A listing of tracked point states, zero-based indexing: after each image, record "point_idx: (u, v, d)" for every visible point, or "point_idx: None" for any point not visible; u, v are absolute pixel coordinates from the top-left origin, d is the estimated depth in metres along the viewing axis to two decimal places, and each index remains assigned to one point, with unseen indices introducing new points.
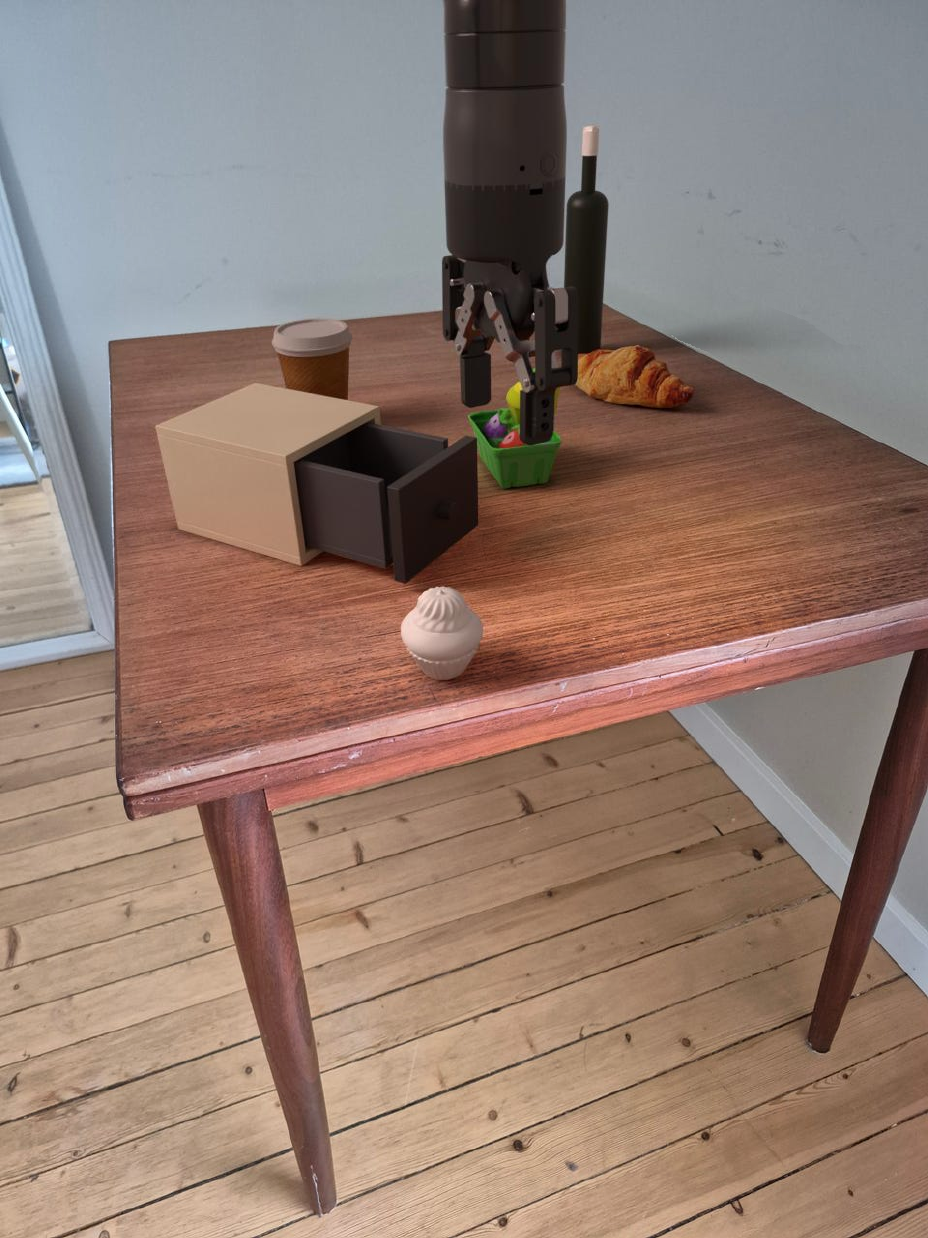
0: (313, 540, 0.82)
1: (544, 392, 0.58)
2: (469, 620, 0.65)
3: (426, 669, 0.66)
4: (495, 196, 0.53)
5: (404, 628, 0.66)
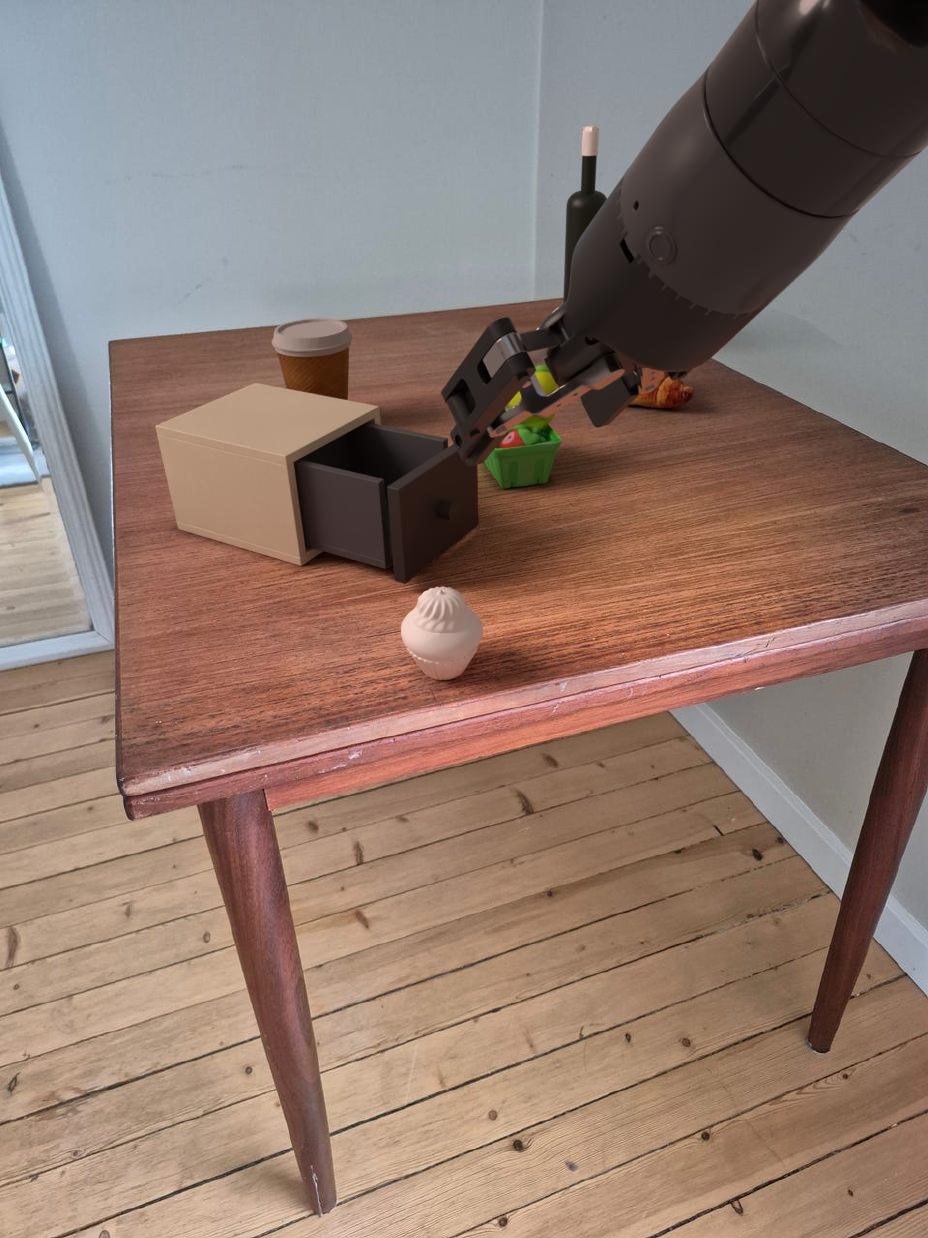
0: (313, 540, 0.82)
1: None
2: (469, 620, 0.65)
3: (426, 669, 0.66)
4: (612, 199, 0.34)
5: (404, 628, 0.66)
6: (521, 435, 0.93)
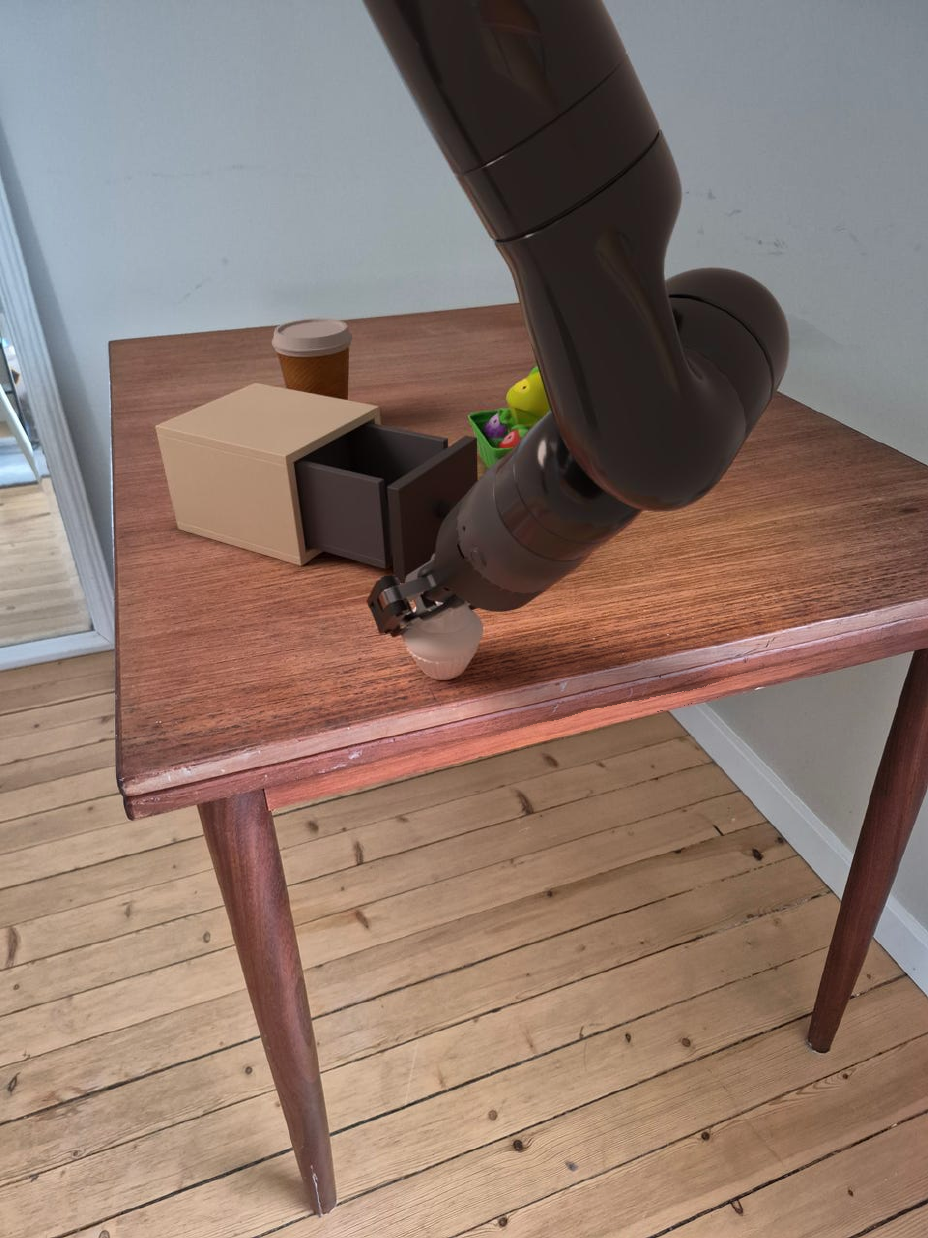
0: (313, 540, 0.82)
1: None
2: (469, 620, 0.65)
3: (426, 669, 0.66)
4: (456, 512, 0.52)
5: None
6: (521, 435, 0.93)
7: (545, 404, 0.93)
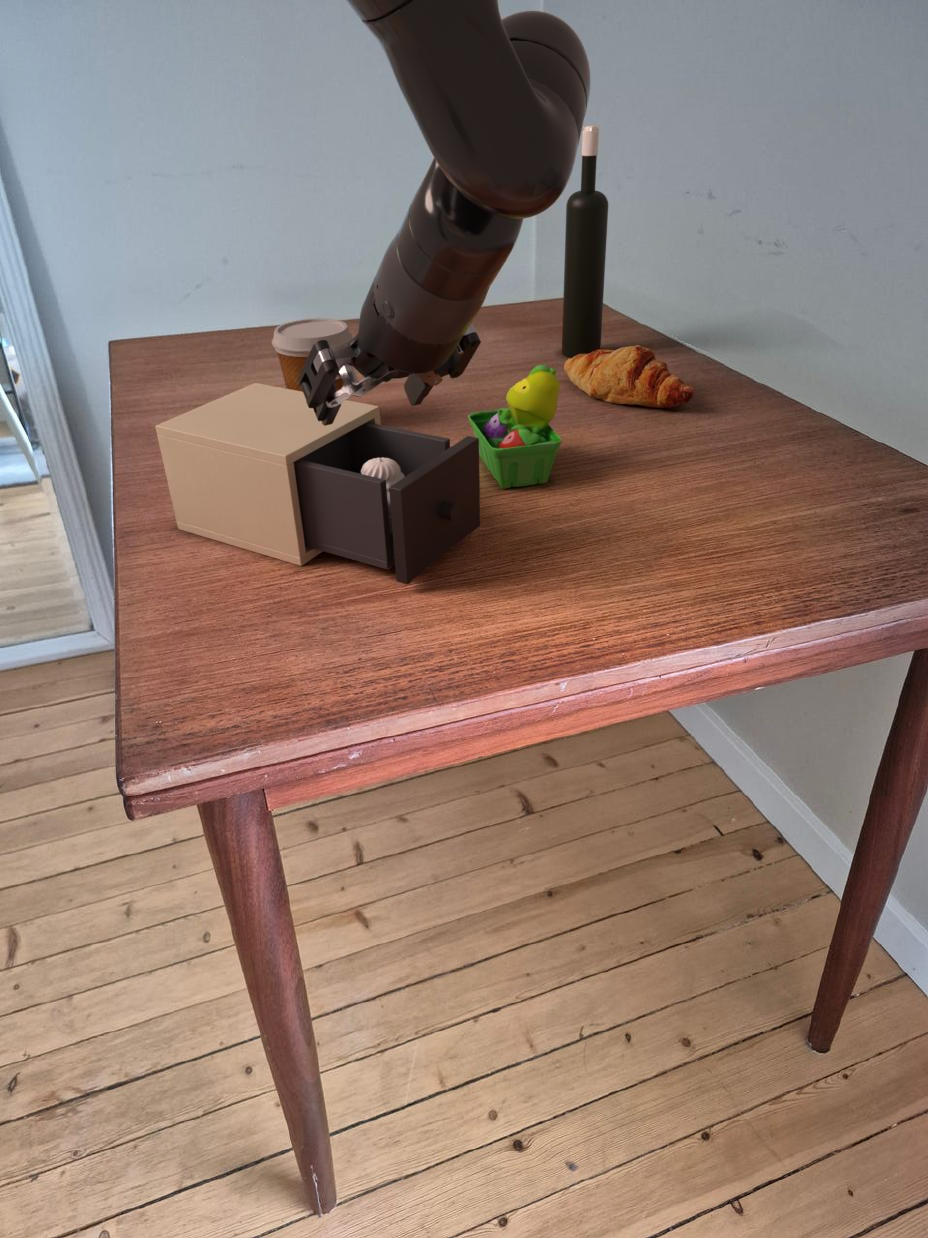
0: (315, 540, 0.82)
1: None
2: None
3: None
4: (373, 280, 0.64)
5: None
6: (521, 435, 0.93)
7: (545, 404, 0.93)
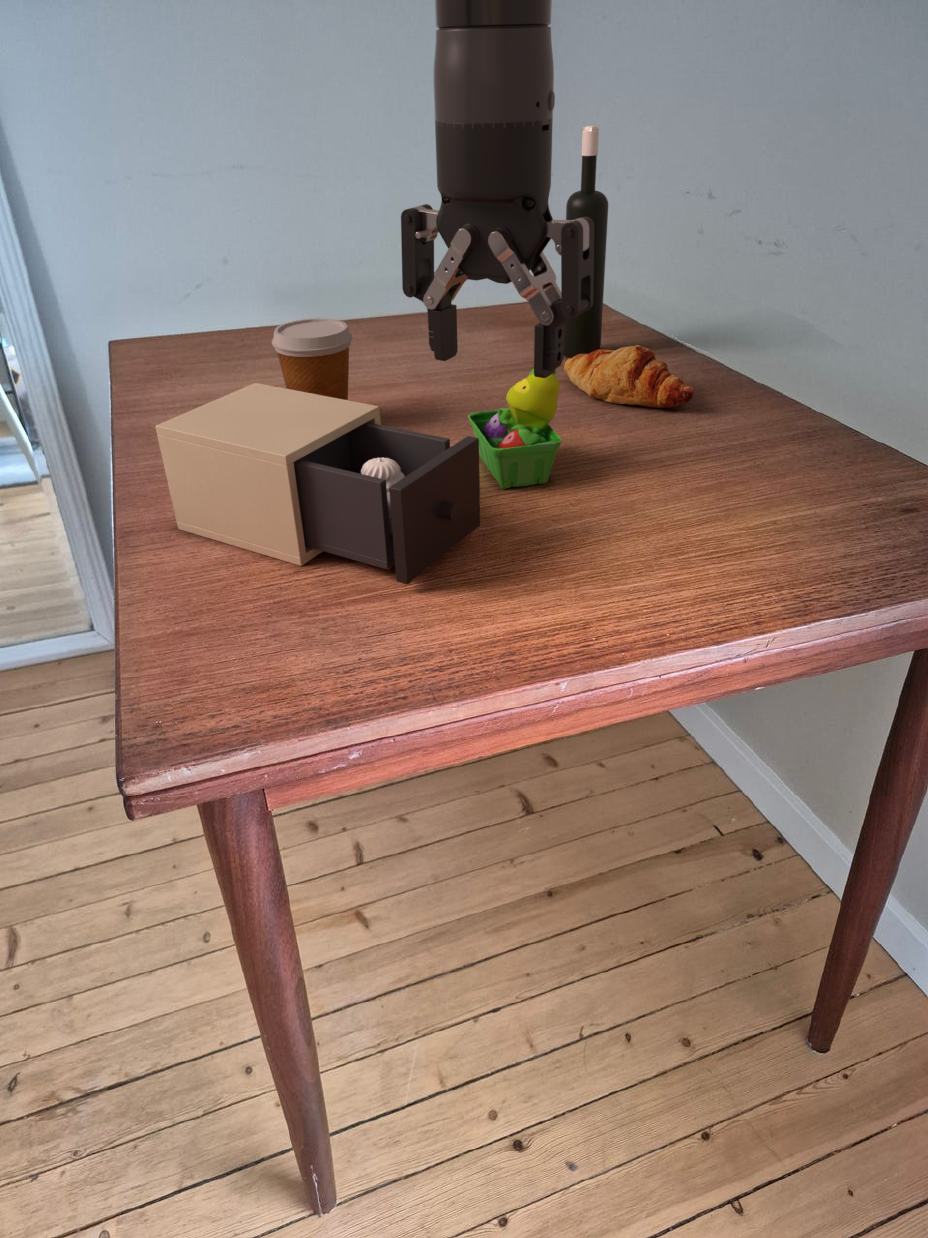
0: (315, 540, 0.82)
1: (560, 322, 0.61)
2: None
3: None
4: (516, 133, 0.55)
5: None
6: (521, 435, 0.93)
7: (545, 404, 0.93)
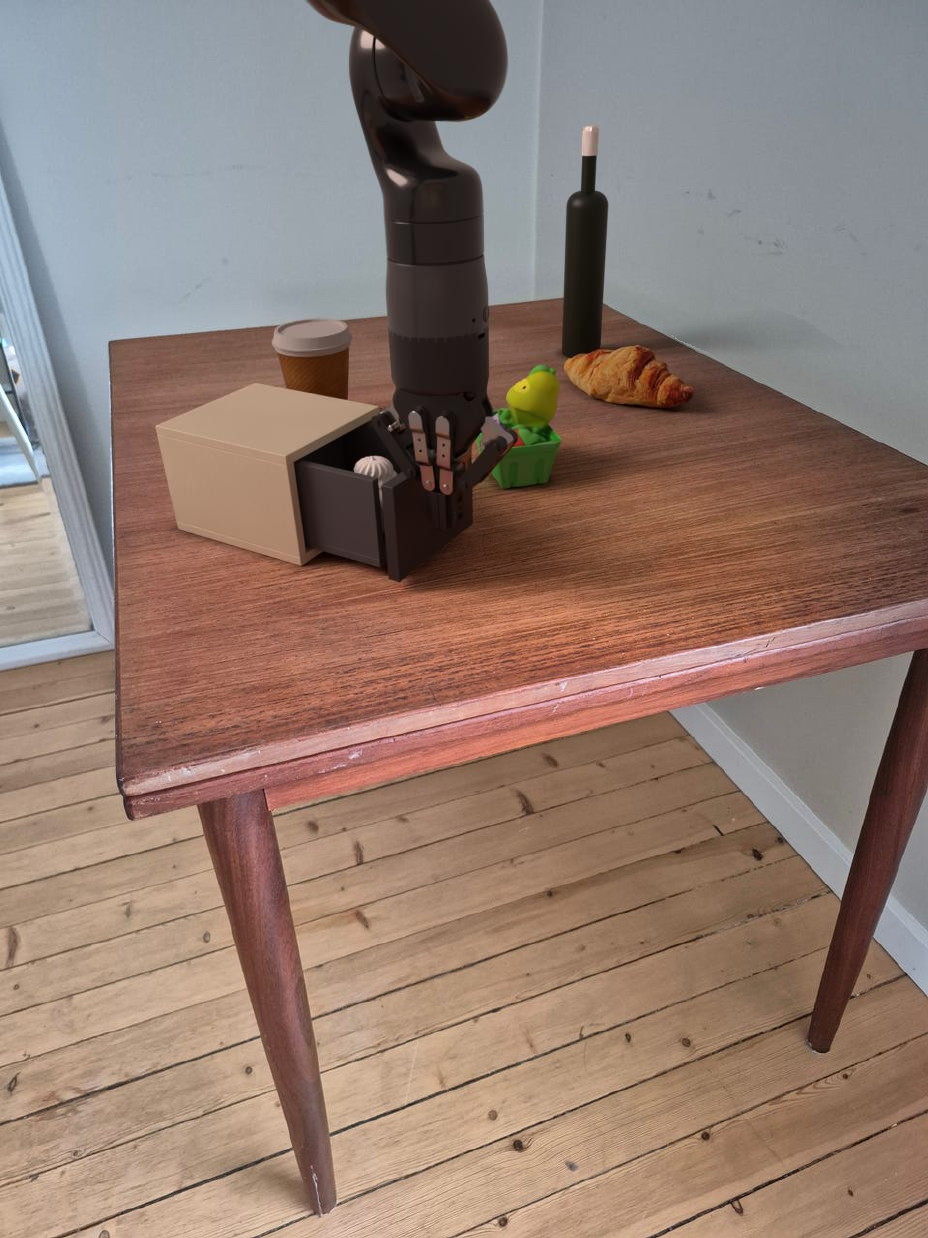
0: (308, 539, 0.82)
1: (459, 491, 0.73)
2: None
3: None
4: (455, 344, 0.64)
5: None
6: (521, 435, 0.93)
7: (545, 404, 0.93)
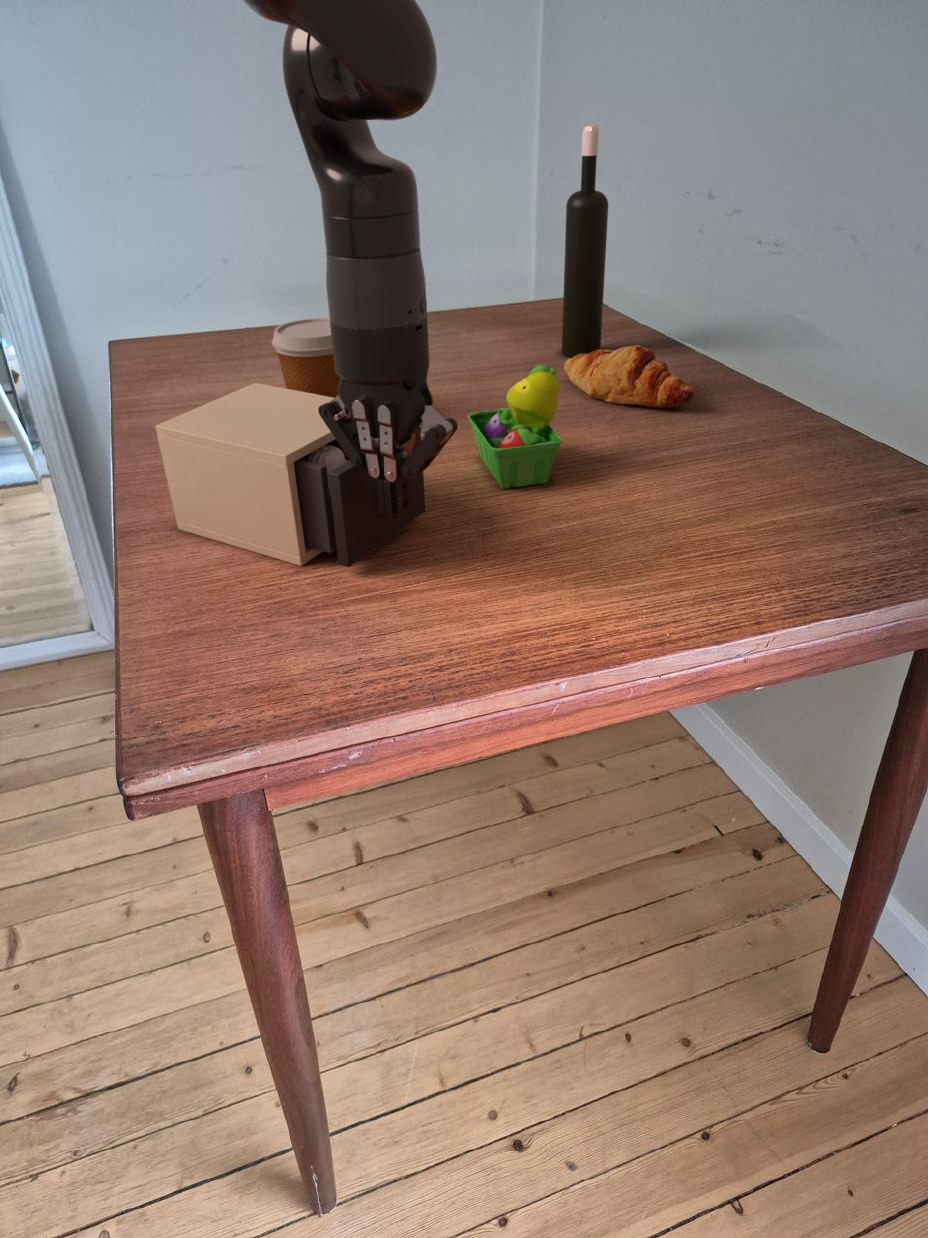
0: None
1: (404, 478, 0.76)
2: None
3: None
4: (392, 335, 0.67)
5: None
6: (521, 435, 0.93)
7: (545, 404, 0.93)
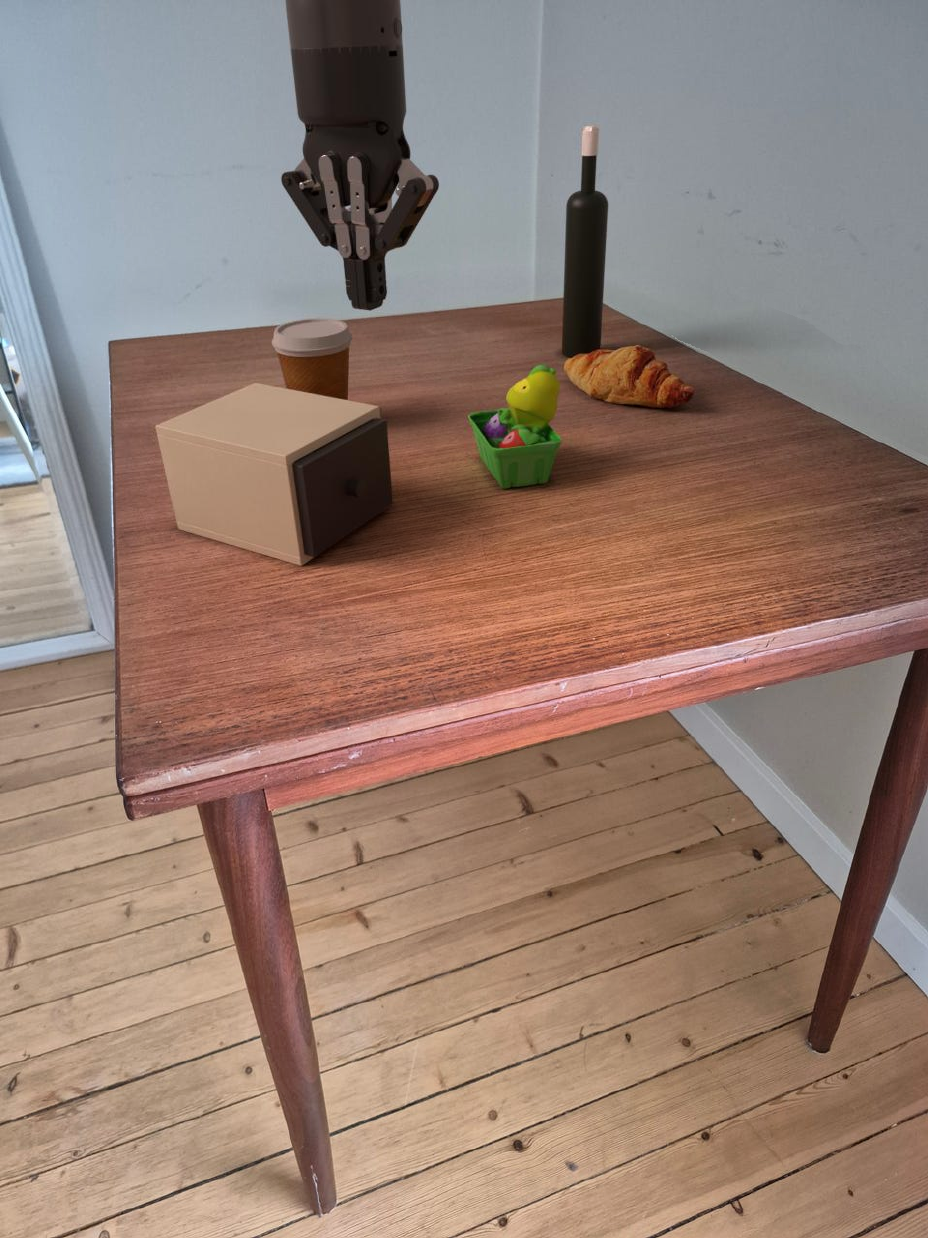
0: None
1: (379, 257, 0.67)
2: None
3: None
4: (362, 57, 0.57)
5: None
6: (521, 435, 0.93)
7: (545, 404, 0.93)
